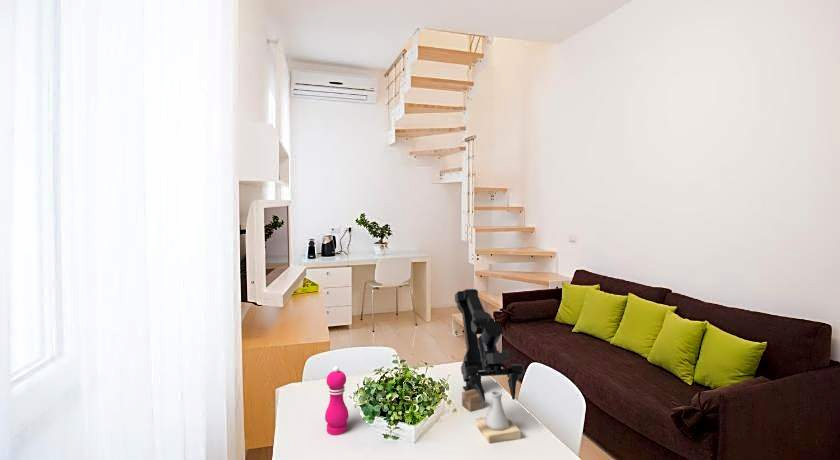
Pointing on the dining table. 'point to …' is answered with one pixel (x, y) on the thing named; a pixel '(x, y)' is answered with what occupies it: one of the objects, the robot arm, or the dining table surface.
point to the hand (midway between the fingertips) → (499, 400)
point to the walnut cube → (471, 400)
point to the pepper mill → (336, 403)
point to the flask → (496, 413)
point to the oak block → (498, 432)
